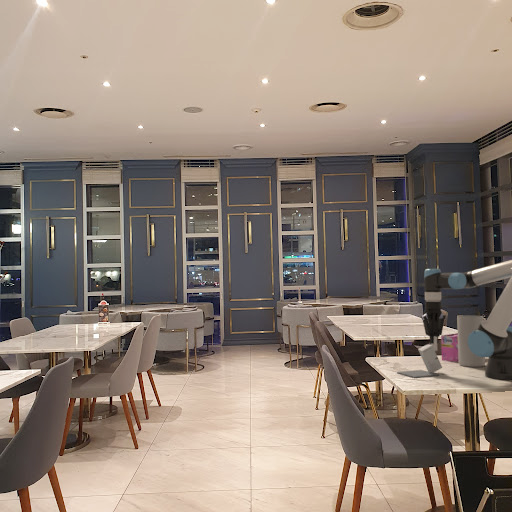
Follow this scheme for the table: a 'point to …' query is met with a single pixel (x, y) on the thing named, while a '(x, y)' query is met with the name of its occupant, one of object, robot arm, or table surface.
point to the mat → (417, 373)
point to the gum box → (449, 347)
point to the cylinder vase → (464, 329)
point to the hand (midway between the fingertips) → (434, 350)
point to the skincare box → (430, 358)
